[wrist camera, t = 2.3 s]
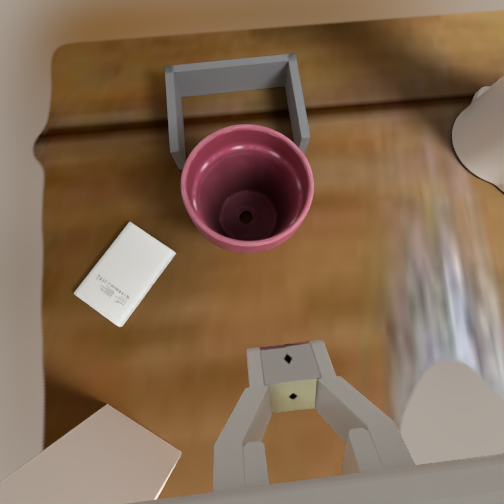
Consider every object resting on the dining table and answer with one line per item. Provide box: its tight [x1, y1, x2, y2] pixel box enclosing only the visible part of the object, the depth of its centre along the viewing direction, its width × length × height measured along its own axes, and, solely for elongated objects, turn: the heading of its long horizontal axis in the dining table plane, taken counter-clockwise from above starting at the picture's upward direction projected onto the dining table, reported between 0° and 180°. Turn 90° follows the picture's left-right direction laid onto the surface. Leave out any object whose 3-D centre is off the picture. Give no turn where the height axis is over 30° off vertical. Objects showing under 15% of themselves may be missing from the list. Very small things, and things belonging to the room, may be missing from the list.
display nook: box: [165, 53, 310, 170], centre depth 44 cm, size 19×14×5 cm
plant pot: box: [181, 124, 314, 253], centre depth 37 cm, size 14×14×13 cm
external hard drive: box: [74, 222, 176, 327], centre depth 42 cm, size 2×8×12 cm
